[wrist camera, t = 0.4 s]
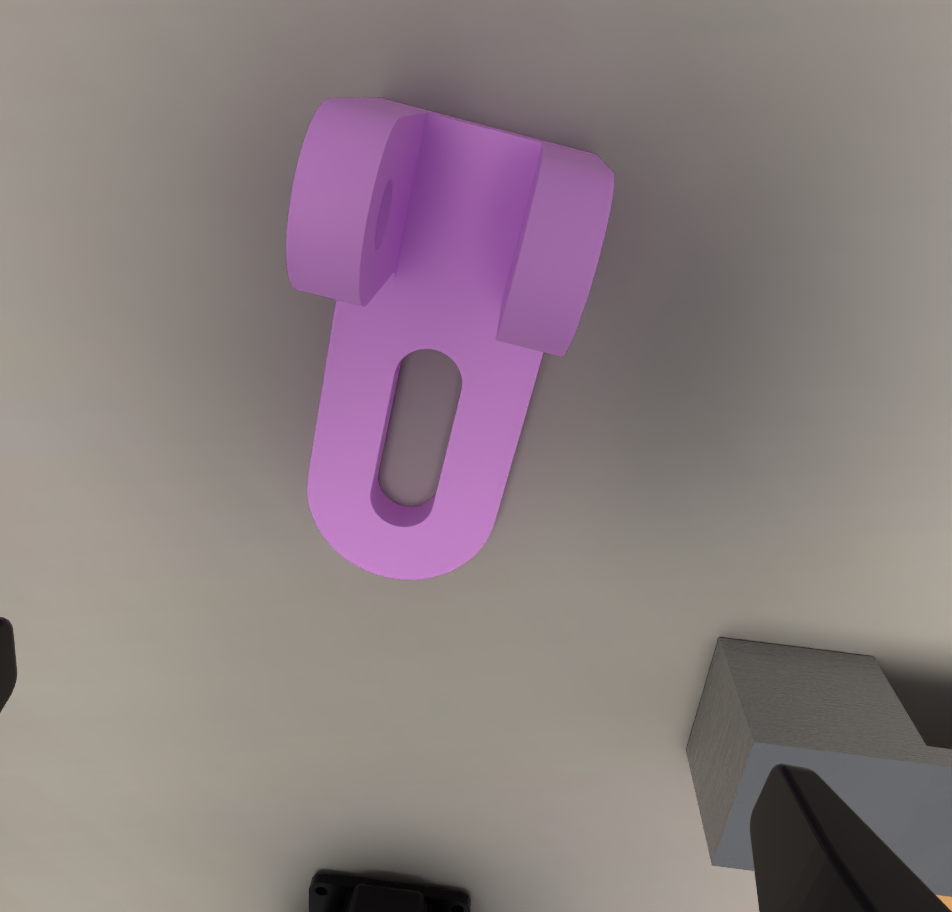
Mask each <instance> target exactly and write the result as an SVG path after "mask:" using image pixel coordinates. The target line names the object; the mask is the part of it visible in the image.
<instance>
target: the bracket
mask: <svg viewBox="0 0 952 912" xmlns="http://www.w3.org/2000/svg"><path fill="white" fill-rule="evenodd" d="M614 181H615V177H614V172H613V171H612V170H611V169H610V168H609V167H608V166H607V165H606V164H605V163H604V162H603V161H602V160H601V159H600V158H599V157H598V156H597V155H596V154H593V153H589V152H586V151H582V150H578V149H574V148H570V147H567V146H563V145H559V144H555V143H551V142H547V141H544V140H540V139H536V138H532V137H528V136H524V135H521V134H517V133H513V132H509V131H505V130H501V129H498V128H494V127H490V126H486V125H482V124H479V123H475V122H471V121H467V120H463V119H459V118H456V117H452V116H448V115H444V114H440V113H436V112H433V111H429V110H425V109H421V108H417V107H413V106H410V105H406V104H402V103H398V102H394V101H391V100H387V99H383V98H379V97H370V98H328V99H326V100H324V101H323V102H322V103H321V105H320V106H319V107H318V109H317V111H316V112H315V114H314V116H313V118H312V120H311V123H310V125H309V128H308V130H307V133H306V136H305V139H304V142H303V145H302V148H301V152H300V155H299V159H298V163H297V167H296V171H295V176H294V181H293V186H292V192H291V198H290V204H289V212H288V221H287V234H286V263H287V272H288V277H289V280H290V283H291V285H292V287H293V288H294V289H295V290H299V291H303V292H307V293H311V294H315V295H319V296H323V297H327V298H331V299H334V300H336V304H335V310H334V317H333V323H332V329H331V335H330V342H329V348H328V354H327V360H326V367H325V373H324V379H323V386H322V392H321V398H320V404H319V411H318V417H317V423H316V429H315V436H314V442H313V448H312V454H311V461H310V467H309V473H308V481H307V496H308V503H309V507H310V511H311V514H312V516H313V519H314V521H315V523H316V525H317V527H318V529H319V531H320V532H321V534H322V535H323V537H324V538H325V539H326V541H327V542H328V543H329V544H330V545H331V546H332V547H333V548H334V549H335V550H336V551H337V552H338V553H339V554H340V555H341V556H343V557H344V558H345V559H347V560H348V561H349V562H351V563H352V564H354V565H356V566H358V567H360V568H361V569H364V570H366V571H368V572H371V573H374V574H376V575H379V576H383V577H388V578H393V579H402V580H419V579H427V578H432V577H436V576H439V575H442V574H445V573H448V572H450V571H452V570H455V569H456V568H458V567H460V566H461V565H463V564H464V563H466V562H467V561H469V560H470V559H471V558H472V557H473V556H474V555H475V554H476V553H477V552H478V551H479V550H480V549H481V548H482V546H483V545H484V544H485V542H486V541H487V539H488V537H489V535H490V533H491V531H492V529H493V526H494V523H495V520H496V516H497V513H498V509H499V506H500V502H501V499H502V496H503V492H504V489H505V485H506V482H507V478H508V475H509V471H510V468H511V464H512V461H513V457H514V454H515V450H516V447H517V443H518V440H519V436H520V433H521V429H522V426H523V422H524V419H525V415H526V412H527V408H528V405H529V402H530V398H531V395H532V391H533V388H534V384H535V381H536V377H537V374H538V370H539V367H540V363H541V360H542V356H543V353H544V352H545V353H549V354H553V355H557V356H561V357H562V356H564V355H565V353H566V352H567V350H568V348H569V346H570V344H571V342H572V340H573V337H574V335H575V332H576V330H577V327H578V325H579V322H580V319H581V316H582V313H583V310H584V307H585V304H586V301H587V298H588V295H589V292H590V289H591V285H592V282H593V279H594V275H595V272H596V268H597V264H598V261H599V257H600V253H601V249H602V245H603V241H604V237H605V233H606V229H607V224H608V220H609V215H610V210H611V204H612V198H613V192H614ZM420 349H433V350H437V351H440V352H442V353H444V354H446V355H447V356H448V357H450V358H451V359H452V360H453V361H454V362H455V364H456V365H457V366H458V368H459V370H460V373H461V377H462V390H461V394H460V398H459V402H458V406H457V410H456V414H455V419H454V423H453V427H452V431H451V435H450V439H449V443H448V447H447V451H446V455H445V460H444V464H443V468H442V472H441V476H440V480H439V484H438V488H437V491H436V493H435V495H434V496H433V497H432V498H431V499H430V500H429V501H428V502H426V503H424V504H422V505H419V506H413V507H409V506H402V505H399V504H397V503H394V502H393V501H391V500H390V499H389V498H387V497H386V495H385V494H384V493H383V492H382V490H381V488H380V485H379V481H378V474H379V469H380V464H381V459H382V454H383V449H384V444H385V439H386V434H387V430H388V425H389V420H390V415H391V410H392V405H393V400H394V395H395V390H396V385H397V381H398V376H399V371H400V366H401V361H402V359H403V358H404V357H405V356H406V355H407V354H409V353H411V352H413V351H416V350H420Z"/></svg>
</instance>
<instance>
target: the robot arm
mask: <svg viewBox="0 0 952 912" xmlns="http://www.w3.org/2000/svg"><path fill="white" fill-rule="evenodd" d="M16 679H17V666H16V655H15V644H14V633H13V627H12V624H11V623H10V621H9V620H7V619H5V618H3V617H0V712H1V711H2V709H3V707H4V706H5V704H6V702H7V701H8V699H9V697H10V696H11V694H12V692H13V689H14V687H15V683H16ZM750 839H751V847H752V855H753V863H754V871H755V879H756V887H757V895H758V903H759V911H760V912H952V911H951V910H950V909H949V908H948V907H947V906H946V905H945V904H944V903H943V902H942V901H941V900H940V899H939V898H938V897H937V896H936V895H935V894H934V893H933V892H932V891H931V890H930V889H929V887H928V886H927V885H926V884H925V883H924V882H923V881H922V880H921V879H920V878H919V877H918V876H917V875H916V874H915V873H914V872H913V871H912V870H911V869H910V868H909V867H908V866H907V865H906V864H905V863H904V862H903V861H902V860H901V859H900V858H899V857H898V856H897V855H896V854H895V853H894V852H893V851H892V850H891V849H890V848H889V847H888V846H887V845H886V844H885V843H884V841H883V840H882V839H881V838H880V837H879V836H878V835H877V834H876V833H875V832H874V831H873V830H872V829H871V828H870V827H869V826H868V825H867V824H866V823H865V822H864V821H863V820H862V819H861V818H860V817H859V816H858V815H857V814H856V813H855V812H854V811H853V810H852V809H851V808H850V807H849V806H848V805H847V804H846V803H845V802H844V801H843V800H842V799H841V798H840V797H839V796H838V794H837V793H836V792H835V791H834V790H833V789H832V788H831V787H830V786H829V785H828V784H827V783H826V782H825V781H824V780H823V779H822V778H821V777H820V776H819V775H818V774H817V773H816V772H814V771H813V770H811V769H808V768H804V767H799V766H794V765H788V764H782V763H781V764H777V765H775V766H774V767H773V768H772V769H771V771H770V773H769V775H768V777H767V779H766V781H765V784H764V786H763V788H762V790H761V792H760V795H759V797H758V799H757V801H756V803H755V806H754V808H753V810H752V813H751V818H750ZM470 905H471V900H470V897H469V896H468V895H467V894H465V893H462V892H457V891H450V890H442V889H435V888H427V887H420V886H412V885H405V884H397V883H390V882H382V881H375V880H367V879H360V878H352V877H345V876H337V875H330V874H317V875H315V876H314V877H313V878H312V881H311V885H310V888H309V912H470Z"/></svg>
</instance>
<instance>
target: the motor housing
mask: <svg viewBox="0 0 952 912" xmlns="http://www.w3.org/2000/svg"><path fill="white" fill-rule="evenodd" d="M686 752H687V757H688V761H689V766H690V770H691V775H692V779H693V783H694V788H695V792H696V797H697V801H698V805H699V810H700V814H701V819H702V823H703V828H704V832H705V836H706V841H707V845H708V850H709V854H710V859H711V863H712V865H713V866H721V867H728V868H736V869H744V870H751V871H754V863H753V855H752V847H751V839H750V818H751V813H752V810H753V808H754V806H755V803H756V801H757V799H758V797H759V795H760V792H761V790H762V788H763V786H764V784H765V781H766V779H767V777H768V775H769V773H770V771H771V769H772V768H773V767H774V766H775V765H777V764H781V763H782V764H788V765H794V766H799V767H804V768H808V769H811V770H813V771H814V772H816V773H817V774H818V775H819V776H820V777H821V778H822V779H823V780H824V781H825V782H826V783H827V784H828V785H829V786H830V787H831V788H832V789H833V790H834V791H835V792H836V793H837V794H838V796H839V797H840V798H841V799H842V800H843V801H844V802H845V803H846V804H847V805H848V806H849V807H850V808H851V809H852V810H853V811H854V812H855V813H856V814H857V815H858V816H859V817H860V818H861V819H862V820H863V821H864V822H865V823H866V824H867V825H868V826H869V827H870V828H871V829H872V830H873V831H874V832H875V833H876V834H877V835H878V836H879V837H880V838H881V839H882V840H883V841H884V843H885V844H886V845H887V846H888V847H889V848H890V849H891V850H892V851H893V852H894V853H895V854H896V855H897V856H898V857H899V858H900V859H901V860H902V861H903V862H904V863H905V864H906V865H907V866H908V867H909V868H910V869H911V870H912V871H913V872H914V873H915V874H916V875H917V876H918V877H919V878H920V879H921V880H922V881H923V882H924V883H925V884H926V885H927V886H928V887H929V889H930V890H931V891H932V892H933V893H934V894H935V895H941V896H949V897H952V749H946V748H939V747H931V746H926V744H925V742H924V741H923V739H922V737H921V736H920V734H919V732H918V731H917V729H916V727H915V726H914V724H913V722H912V721H911V719H910V717H909V715H908V714H907V712H906V710H905V709H904V707H903V705H902V704H901V702H900V700H899V699H898V697H897V695H896V694H895V692H894V690H893V689H892V687H891V685H890V684H889V682H888V680H887V679H886V677H885V675H884V674H883V672H882V670H881V669H880V667H879V665H878V664H877V662H876V660H875V659H874V657H872V656H864V655H856V654H848V653H840V652H832V651H824V650H816V649H808V648H800V647H792V646H783V645H775V644H767V643H759V642H751V641H743V640H735V639H727V638H719V639H718V643H717V646H716V650H715V653H714V656H713V660H712V663H711V667H710V670H709V674H708V677H707V680H706V684H705V687H704V691H703V694H702V698H701V701H700V705H699V708H698V711H697V715H696V718H695V722H694V725H693V729H692V732H691V735H690V739H689V742H688V746H687V749H686Z"/></svg>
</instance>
